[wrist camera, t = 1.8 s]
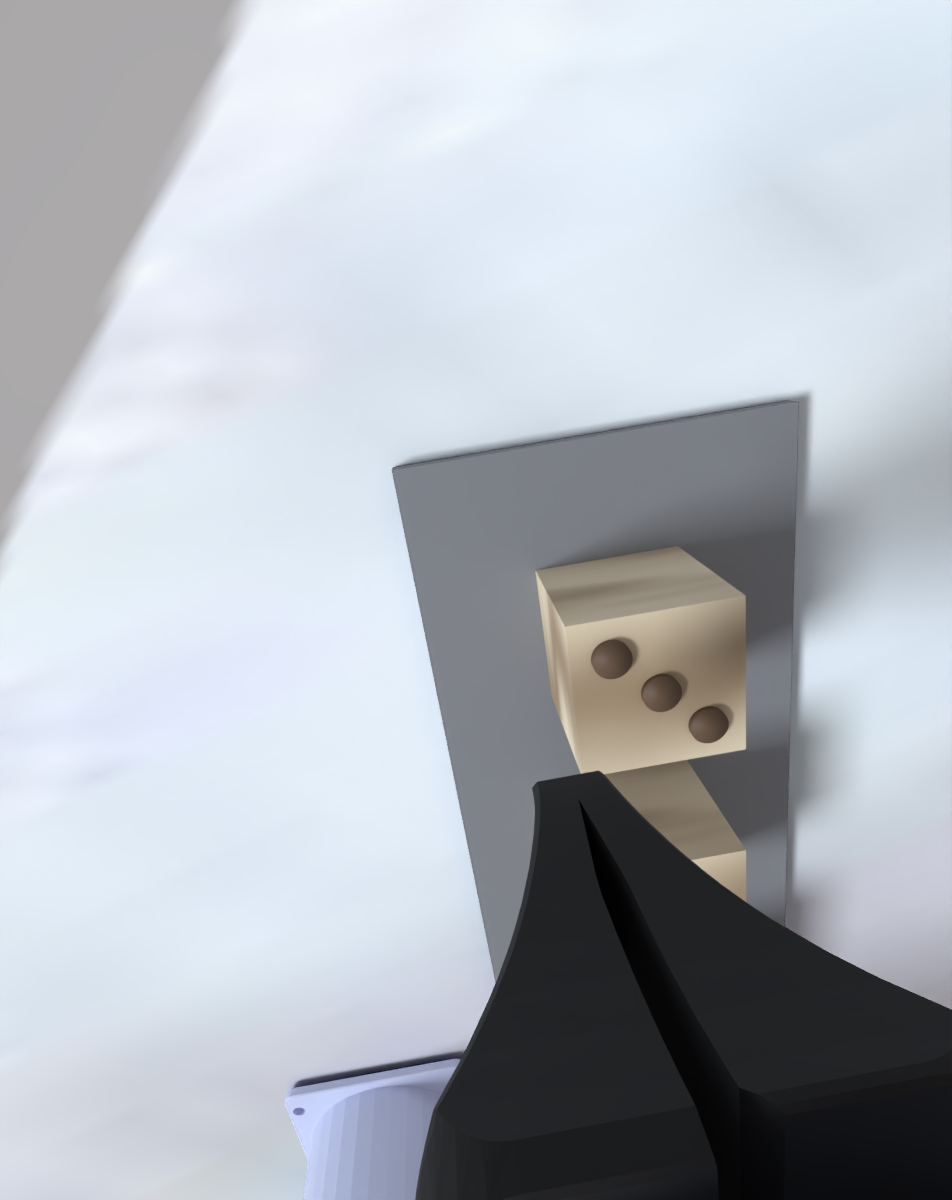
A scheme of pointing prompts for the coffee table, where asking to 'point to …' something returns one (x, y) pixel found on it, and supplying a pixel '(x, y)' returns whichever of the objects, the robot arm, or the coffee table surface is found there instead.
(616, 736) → the three pip block
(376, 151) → the coffee table surface
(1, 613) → the coffee table surface
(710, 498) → the slate mat
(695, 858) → the plain block
